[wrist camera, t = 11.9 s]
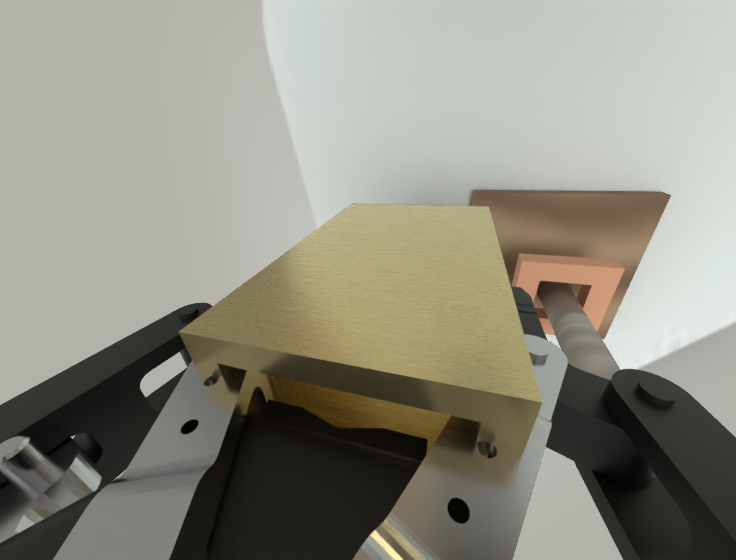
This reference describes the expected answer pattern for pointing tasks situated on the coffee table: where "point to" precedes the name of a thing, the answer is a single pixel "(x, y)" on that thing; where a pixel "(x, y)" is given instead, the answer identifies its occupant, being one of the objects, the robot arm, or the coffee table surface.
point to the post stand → (575, 253)
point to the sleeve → (384, 326)
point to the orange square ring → (571, 281)
